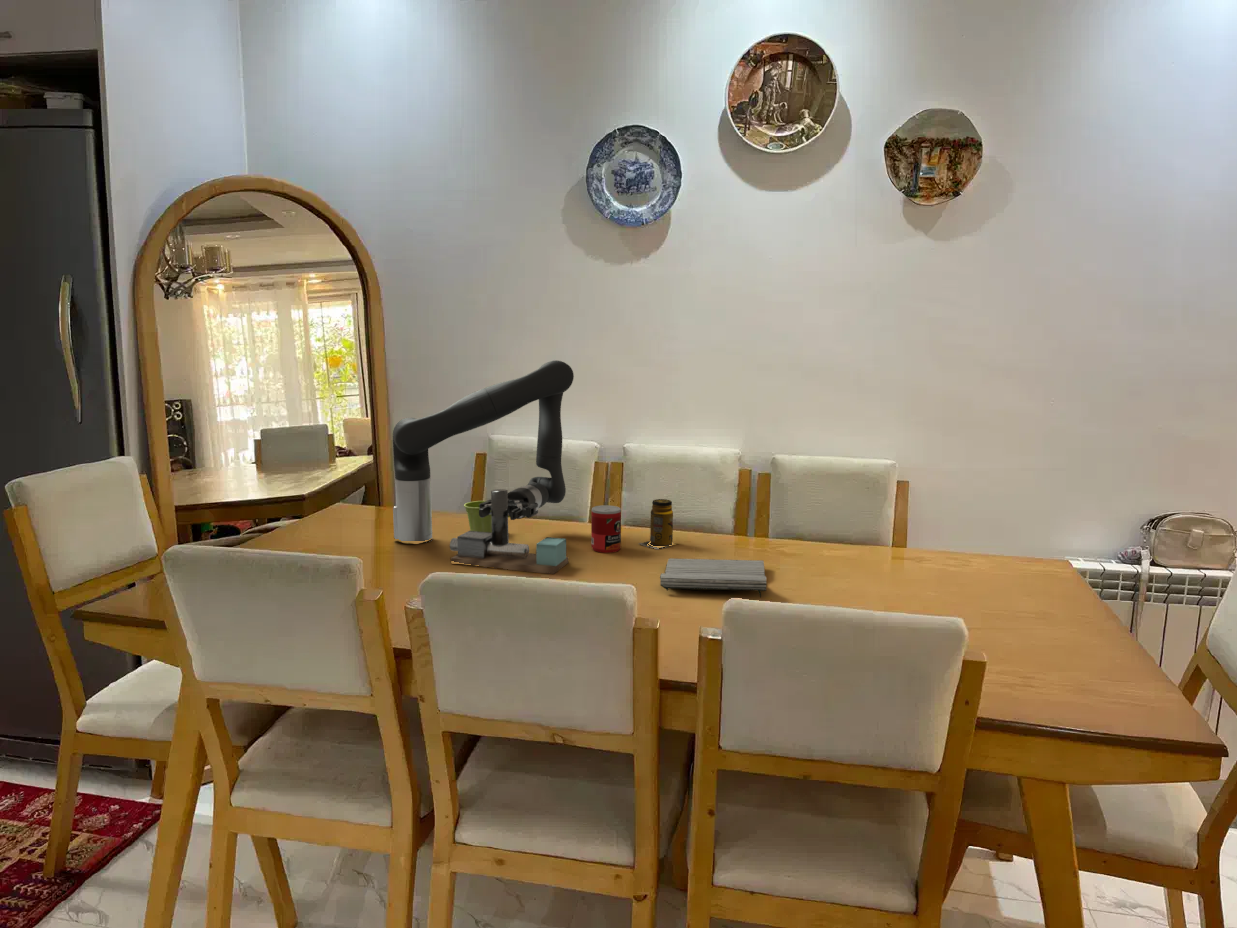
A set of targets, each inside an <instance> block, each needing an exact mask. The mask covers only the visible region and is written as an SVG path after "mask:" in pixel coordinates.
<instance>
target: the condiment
mask: <svg viewBox="0 0 1237 928" xmlns="http://www.w3.org/2000/svg"><path fill="white" fill-rule="evenodd" d="M672 505H673V503H672V501H671V500H670V499H666V498H658V499H653V500H652V506H651V510H650V524H649V525H650V529H649V530H650V533H649V534H650V535H649V537H650V540H649V541H647V540H646V541H644V542H639V543H638V545H641V546H644V547H647V548H649V547H650V548H652V549H653V548H654V549H655V550H660V549H659V548H657V547H653V546H669V545H672V542H673V538H674V537H673V535H674V534H673V533H674V532H673V530H674V528H673V527H674V511H673V506H672ZM650 541H651V543H650V544H651V545H653V546H651V545H649V544H648V543H649V542H650ZM647 544H648V545H649V546H647ZM650 548H649V549H650ZM661 548H662V549H664V548H663V547H661ZM654 549H653V550H654Z"/></svg>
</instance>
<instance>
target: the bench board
mask: <svg viewBox="0 0 1237 928" xmlns="http://www.w3.org/2000/svg"><path fill="white" fill-rule="evenodd" d="M451 561H454V562H459V563H464V564H471V565H479V566H484V567H483V568H487V567H494V568H493V569H497V568H503V569H502V570H507V569H508V570H510V571H518V572H519V571H521V572H529V573H530V572H531V573H538V574H550V575H551V574H552V575H555V574H556V573H557V572H558V571H560V570H561V569H562V568H564V567H565V566H566V565H568V564H569V556H566V559H565V560H564V561H562V562H561V563H560V564H558V565H557V566H550V565H539V564H537V561H536V553H531V552H529V554H528V557H527V558H524V557H514V556H503V555H492V554H485V558H484V559H479V558H469V557H458V553H457V554H456V555H454V556H452V557H450V562H451ZM508 570H507V571H508Z"/></svg>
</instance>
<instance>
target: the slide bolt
mask: <svg viewBox="0 0 1237 928" xmlns="http://www.w3.org/2000/svg"><path fill="white" fill-rule="evenodd" d="M508 493H509V491H508V489H501V488H500V489H499V488H495V489H492V490H490V500H491V513H492V541H485V554H492V555H503V556H514V557H524V558H527V557H528V554H529V553H530V546H529V544H526V543H515V542H514V543H512V542H509V515H508ZM449 549H450V551H452V552H458V542H457V537H453V538H451V539H450V542H449Z"/></svg>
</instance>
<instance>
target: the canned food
mask: <svg viewBox="0 0 1237 928" xmlns="http://www.w3.org/2000/svg"><path fill="white" fill-rule="evenodd" d="M590 515H591V521H590V522H591V524H590V526H591V528H590V529H591V531H590V532H591V533H590V534H591V536H590V537H591V550H592V551H594V552H596V553H604V554H610V553H611V554H612V553H617V552H619V551H620V550H621V547H622V546H621V545H622V544H621V542H622V541H621V540H622V508H621V507H619V506H617V505H606V504H605V505H604V504H603V505H596V506H593V507H592V508H591V514H590Z"/></svg>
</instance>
